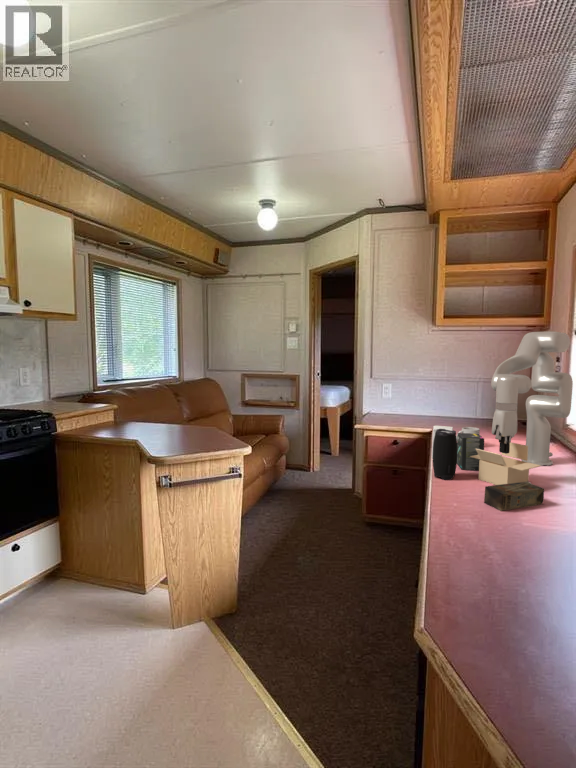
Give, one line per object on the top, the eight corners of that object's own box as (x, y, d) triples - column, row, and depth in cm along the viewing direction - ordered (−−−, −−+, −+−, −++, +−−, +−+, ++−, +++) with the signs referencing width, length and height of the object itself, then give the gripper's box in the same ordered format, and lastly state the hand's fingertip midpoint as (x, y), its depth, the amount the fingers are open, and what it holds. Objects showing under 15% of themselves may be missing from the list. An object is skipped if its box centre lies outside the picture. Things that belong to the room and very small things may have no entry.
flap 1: (475, 448, 161) (475, 449, 161) (501, 454, 152) (500, 455, 152) (481, 458, 163) (481, 459, 163) (506, 465, 154) (506, 465, 154)
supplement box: (431, 458, 196) (432, 428, 194) (432, 454, 204) (433, 425, 203) (451, 460, 192) (452, 429, 191) (451, 456, 200) (452, 426, 199)
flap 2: (501, 454, 170) (502, 454, 170) (527, 460, 161) (527, 460, 161) (502, 440, 169) (502, 440, 169) (527, 445, 160) (528, 445, 160)
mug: (479, 446, 222) (480, 428, 221) (477, 449, 214) (478, 430, 213) (458, 443, 228) (459, 425, 227) (455, 446, 220) (456, 428, 219)
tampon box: (483, 471, 175) (485, 438, 174) (461, 470, 177) (462, 437, 176) (477, 464, 186) (478, 433, 185) (456, 463, 188) (457, 432, 187)
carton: (488, 471, 176) (489, 452, 175) (541, 486, 157) (542, 465, 156) (467, 476, 169) (468, 456, 168) (520, 492, 150) (521, 470, 149)
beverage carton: (544, 505, 138) (546, 486, 137) (501, 512, 132) (502, 493, 131) (524, 497, 146) (525, 479, 145) (482, 503, 139) (483, 485, 139)
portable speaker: (431, 473, 173) (433, 427, 171) (455, 475, 170) (457, 429, 168) (432, 479, 165) (433, 431, 163) (456, 481, 162) (458, 433, 160)
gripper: (508, 404, 167) (506, 448, 169) (485, 407, 160) (483, 453, 161) (526, 406, 160) (524, 452, 162) (503, 409, 153) (501, 457, 155)
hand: (504, 452), depth 162 cm, fingers closed
